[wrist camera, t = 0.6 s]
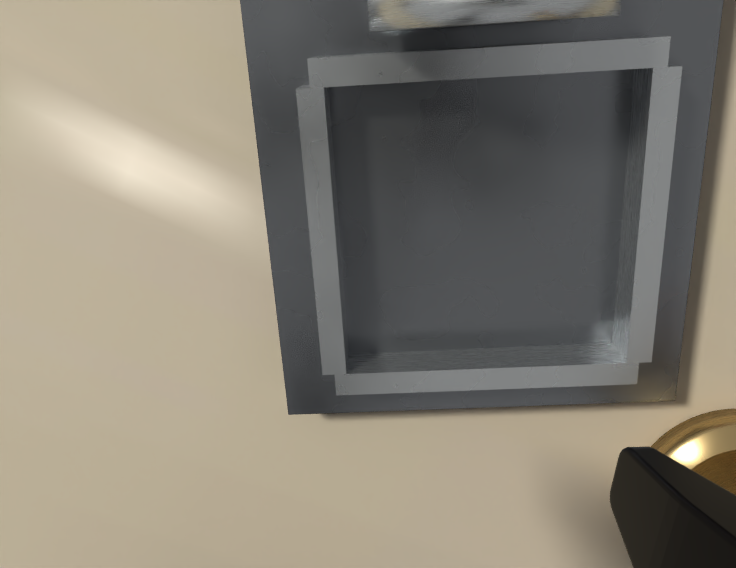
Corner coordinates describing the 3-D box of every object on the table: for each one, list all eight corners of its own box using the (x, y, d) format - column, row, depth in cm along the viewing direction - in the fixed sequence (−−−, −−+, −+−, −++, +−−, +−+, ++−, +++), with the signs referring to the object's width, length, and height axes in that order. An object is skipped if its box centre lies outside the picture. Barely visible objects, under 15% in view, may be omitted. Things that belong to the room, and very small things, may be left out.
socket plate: (658, 380, 25) (753, 499, 19) (294, 393, 26) (262, 513, 19) (729, -265, 18) (920, -432, 12) (224, -224, 19) (138, -361, 12)
